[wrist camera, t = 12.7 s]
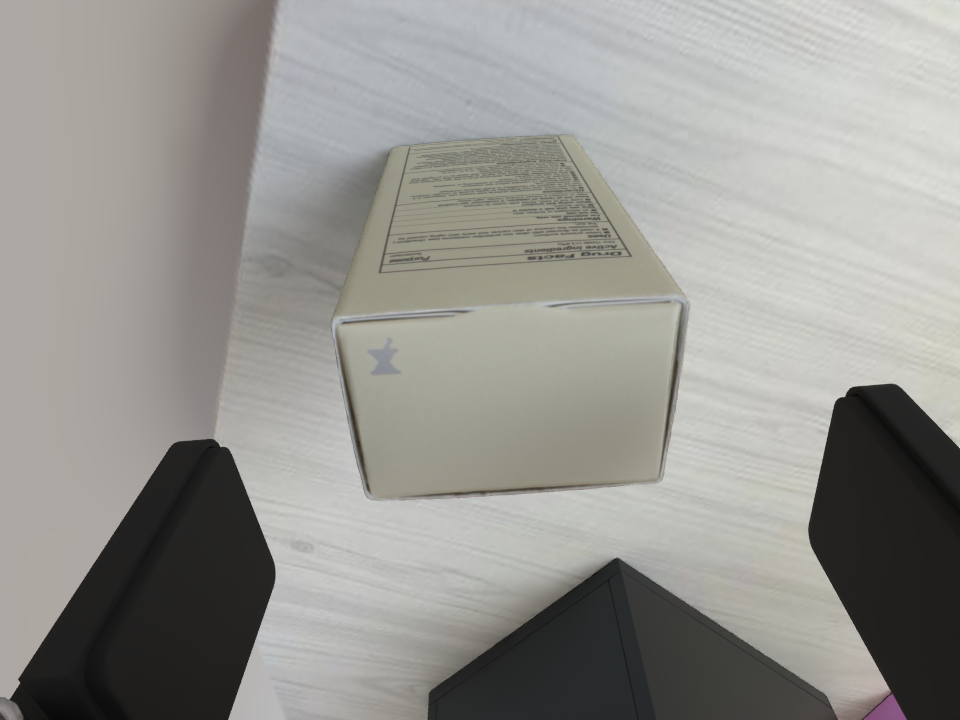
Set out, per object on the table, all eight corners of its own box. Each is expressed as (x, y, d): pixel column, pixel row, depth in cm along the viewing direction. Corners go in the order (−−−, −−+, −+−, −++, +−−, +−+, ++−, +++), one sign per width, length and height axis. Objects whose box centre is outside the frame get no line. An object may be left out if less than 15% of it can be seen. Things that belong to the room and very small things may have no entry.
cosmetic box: (404, 265, 23) (347, 509, 13) (389, 142, 21) (306, 317, 11) (583, 256, 23) (670, 495, 13) (587, 130, 21) (696, 298, 11)
